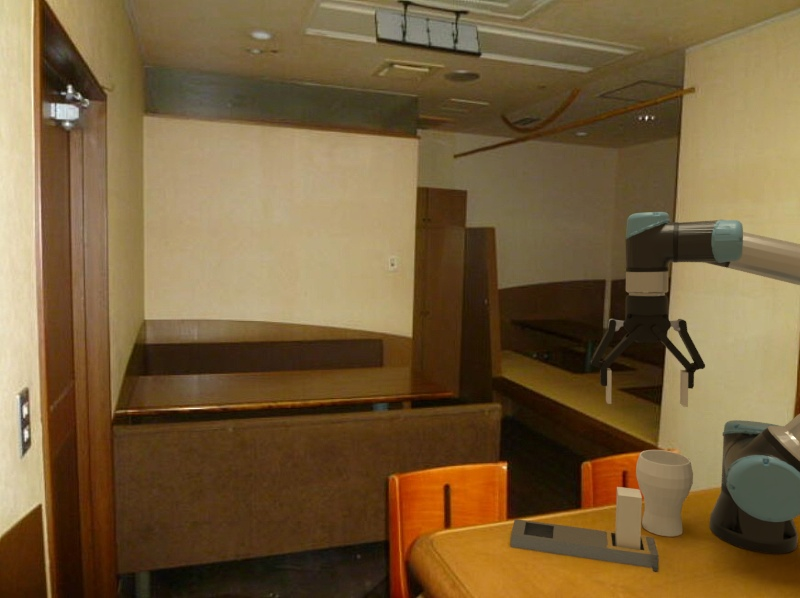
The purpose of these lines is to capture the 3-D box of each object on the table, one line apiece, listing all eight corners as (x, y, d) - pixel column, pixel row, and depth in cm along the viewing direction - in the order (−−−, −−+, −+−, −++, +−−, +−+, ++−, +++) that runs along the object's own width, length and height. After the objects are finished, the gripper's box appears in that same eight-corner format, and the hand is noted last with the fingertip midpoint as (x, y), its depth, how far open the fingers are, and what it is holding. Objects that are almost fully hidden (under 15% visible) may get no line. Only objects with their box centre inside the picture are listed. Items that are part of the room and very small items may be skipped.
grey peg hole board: (653, 552, 110) (653, 536, 110) (658, 571, 103) (658, 554, 103) (514, 533, 118) (514, 517, 117) (510, 549, 111) (511, 533, 111)
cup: (697, 543, 114) (700, 468, 113) (640, 537, 116) (642, 464, 115) (682, 519, 124) (685, 450, 123) (630, 514, 126) (632, 447, 125)
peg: (637, 551, 109) (639, 489, 109) (639, 561, 106) (641, 497, 105) (614, 548, 111) (616, 486, 110) (616, 558, 107) (618, 495, 106)
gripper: (712, 292, 112) (710, 401, 113) (577, 293, 117) (577, 396, 119) (724, 295, 104) (722, 411, 106) (579, 295, 110) (579, 405, 111)
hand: (645, 403), depth 112 cm, fingers open, 13 cm apart
